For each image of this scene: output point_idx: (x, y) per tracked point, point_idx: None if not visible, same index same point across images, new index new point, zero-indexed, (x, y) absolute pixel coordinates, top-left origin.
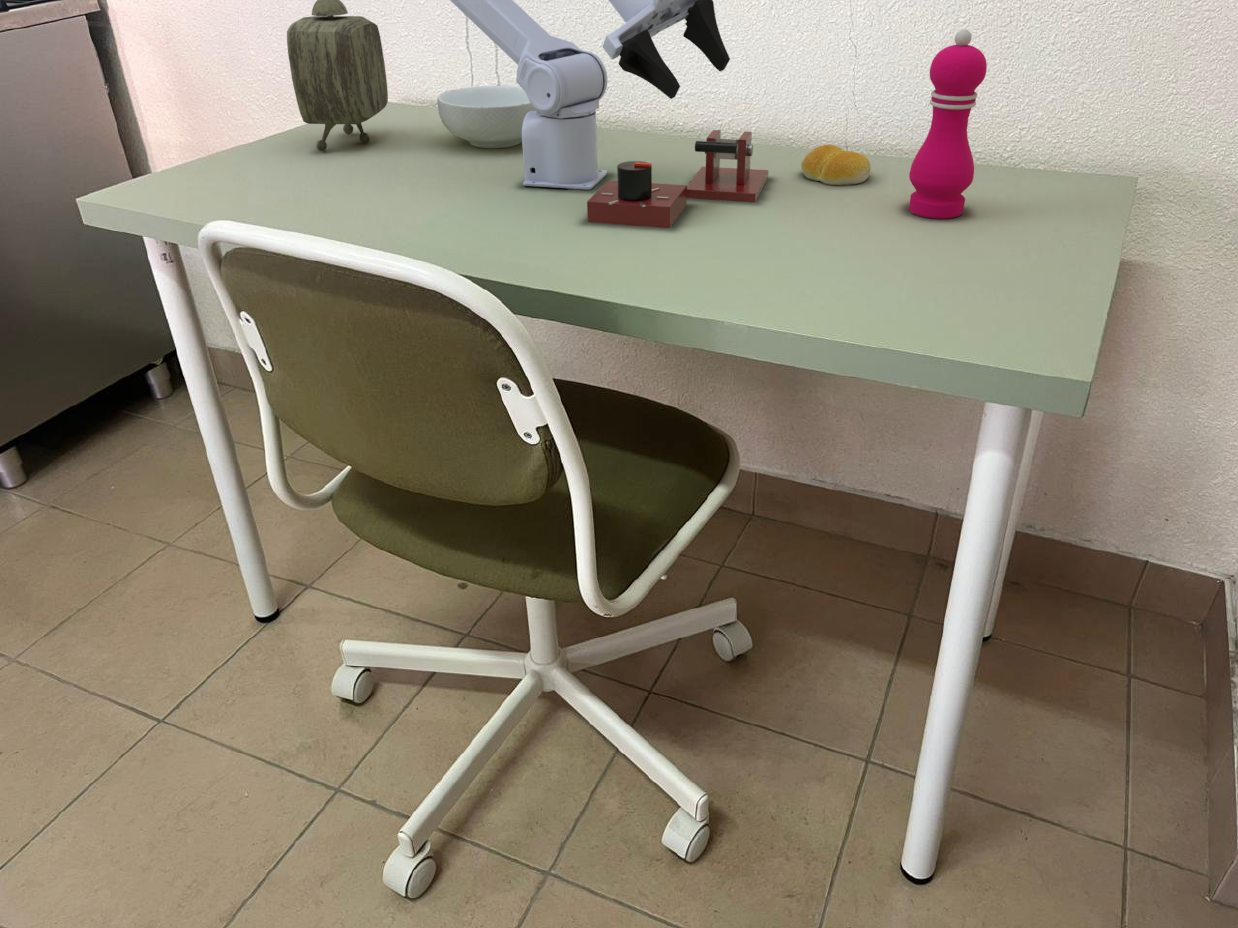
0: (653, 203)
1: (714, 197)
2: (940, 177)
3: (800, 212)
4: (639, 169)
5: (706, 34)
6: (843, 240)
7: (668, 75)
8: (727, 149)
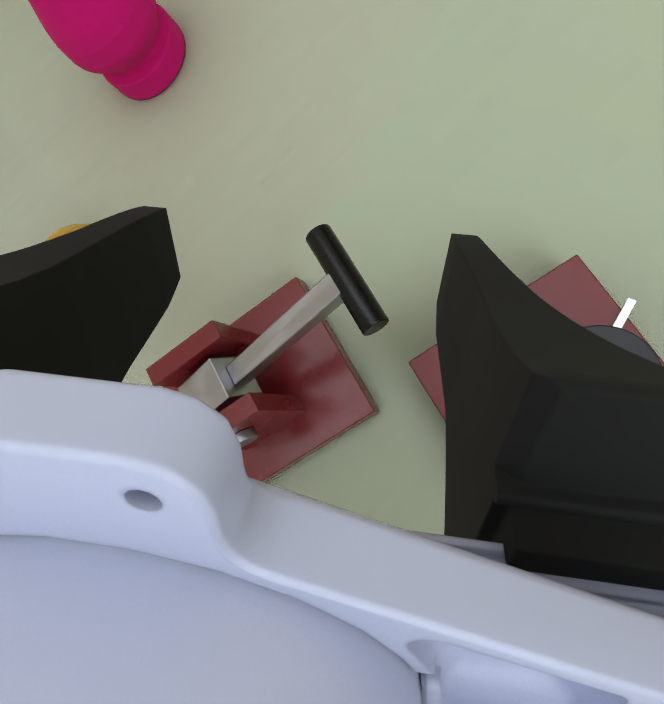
0: (589, 304)
1: (343, 351)
2: None
3: (289, 186)
4: (622, 333)
5: (76, 304)
6: (362, 24)
7: (490, 256)
8: (340, 244)
